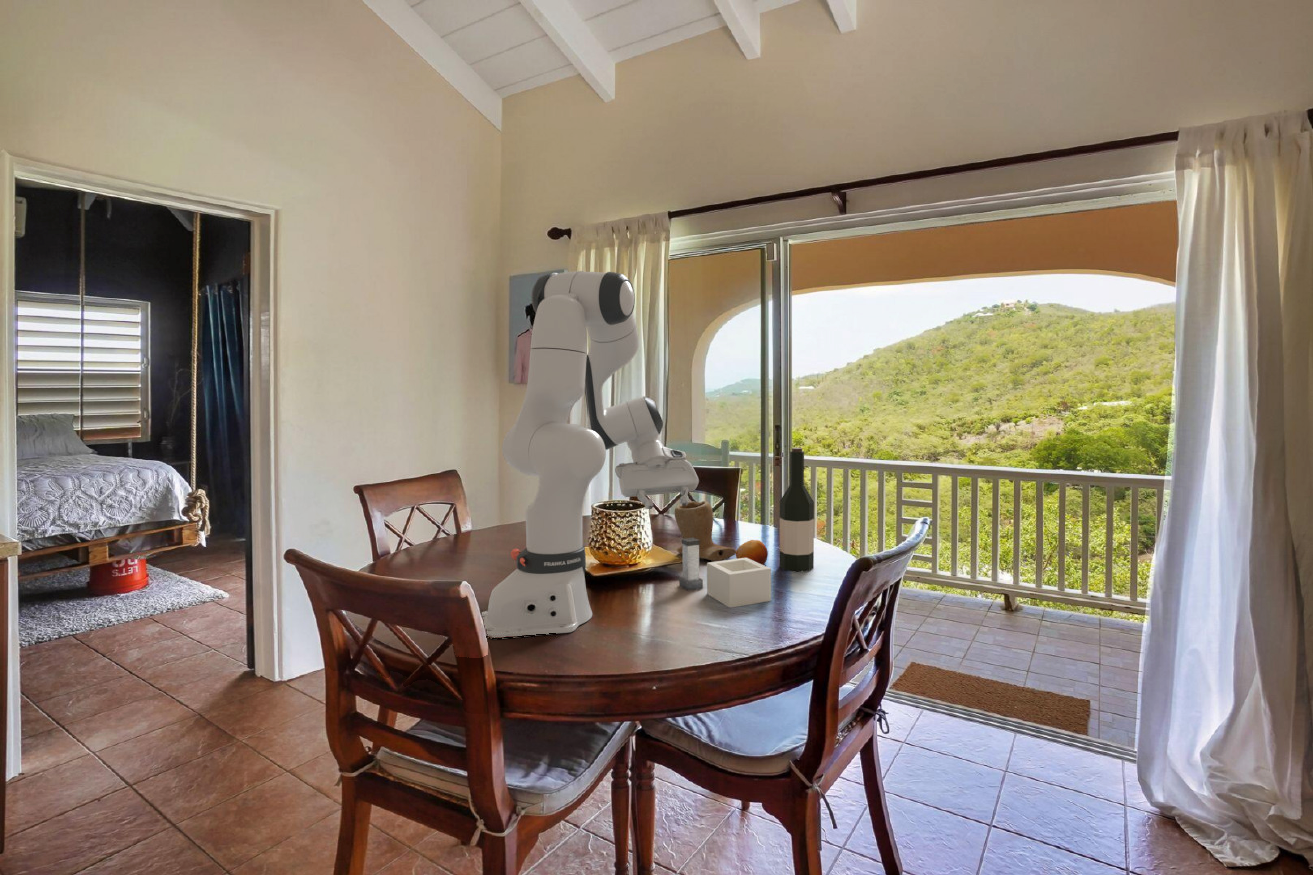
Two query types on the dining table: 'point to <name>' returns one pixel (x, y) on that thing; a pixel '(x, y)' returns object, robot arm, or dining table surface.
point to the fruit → (753, 551)
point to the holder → (738, 582)
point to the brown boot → (700, 530)
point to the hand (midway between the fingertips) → (667, 505)
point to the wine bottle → (796, 520)
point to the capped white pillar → (690, 565)
